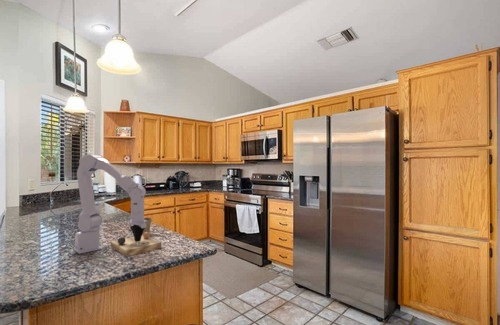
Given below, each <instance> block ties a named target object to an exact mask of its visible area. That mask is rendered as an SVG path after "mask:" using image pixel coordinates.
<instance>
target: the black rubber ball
mask: <svg viewBox="0 0 500 325" xmlns="http://www.w3.org/2000/svg"><path fill="white" fill-rule="evenodd" d="M117 240H118V243H119V244H124V243H125V237H124V236H121V237H119V238H118V239H117Z"/></svg>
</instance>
